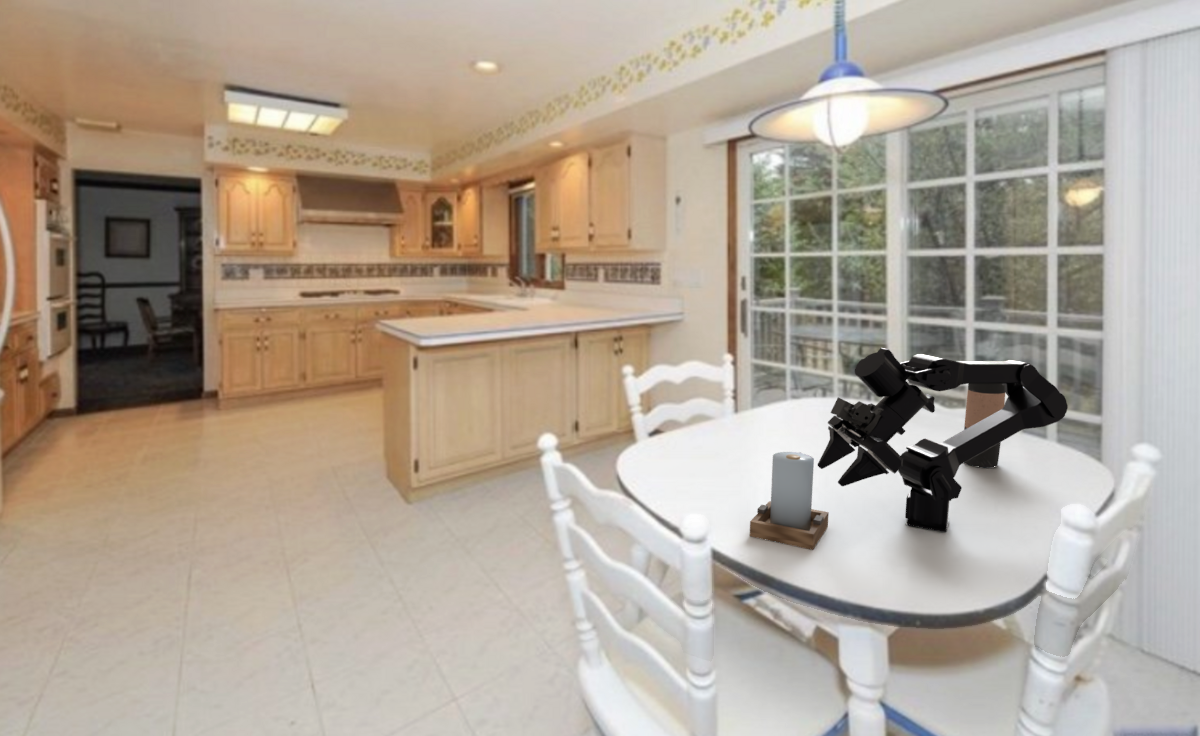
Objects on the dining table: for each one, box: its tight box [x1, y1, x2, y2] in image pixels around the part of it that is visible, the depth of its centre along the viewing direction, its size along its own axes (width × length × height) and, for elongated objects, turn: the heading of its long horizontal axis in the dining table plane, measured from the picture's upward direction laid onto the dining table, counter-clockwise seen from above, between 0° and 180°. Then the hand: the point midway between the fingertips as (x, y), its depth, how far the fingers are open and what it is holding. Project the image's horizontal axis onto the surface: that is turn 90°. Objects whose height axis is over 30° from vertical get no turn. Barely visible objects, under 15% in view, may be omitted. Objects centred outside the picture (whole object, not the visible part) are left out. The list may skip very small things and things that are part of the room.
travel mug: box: [963, 383, 1006, 468], centre depth 151 cm, size 8×8×20 cm
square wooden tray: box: [749, 500, 829, 551], centre depth 117 cm, size 11×11×4 cm
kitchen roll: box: [770, 451, 815, 531], centre depth 116 cm, size 7×7×13 cm
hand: (829, 475), depth 116 cm, fingers open, 9 cm apart
